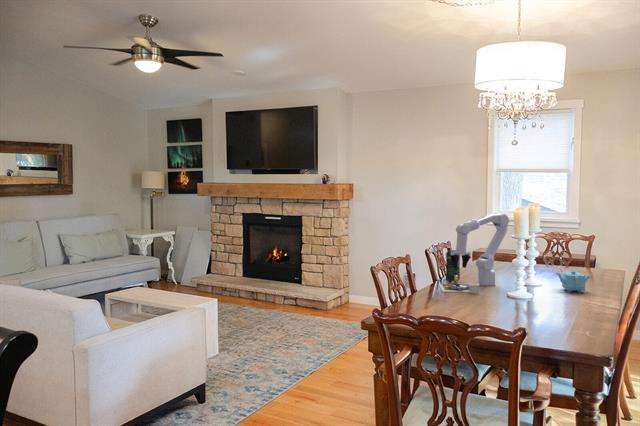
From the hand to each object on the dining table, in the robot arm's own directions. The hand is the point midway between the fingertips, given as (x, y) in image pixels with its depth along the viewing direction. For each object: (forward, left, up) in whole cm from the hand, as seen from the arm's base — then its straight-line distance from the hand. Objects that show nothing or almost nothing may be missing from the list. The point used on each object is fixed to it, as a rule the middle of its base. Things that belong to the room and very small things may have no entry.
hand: (459, 267), depth 305 cm
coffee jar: (0, -22, -12) cm, 25 cm away
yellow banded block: (-5, +19, -11) cm, 23 cm away
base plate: (+2, +7, -11) cm, 14 cm away
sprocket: (+2, +7, -11) cm, 14 cm away
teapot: (-60, +11, -12) cm, 62 cm away
